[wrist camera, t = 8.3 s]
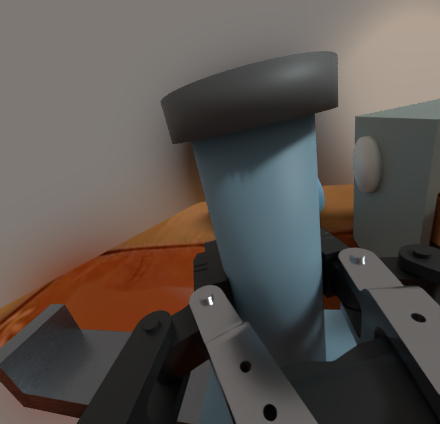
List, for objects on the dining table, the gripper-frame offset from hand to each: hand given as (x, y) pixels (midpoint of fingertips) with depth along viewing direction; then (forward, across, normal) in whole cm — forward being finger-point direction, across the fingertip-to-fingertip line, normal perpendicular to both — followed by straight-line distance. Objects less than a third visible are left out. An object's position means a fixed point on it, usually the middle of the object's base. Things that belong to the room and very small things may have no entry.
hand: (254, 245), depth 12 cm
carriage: (-3, 0, +10) cm, 10 cm away
